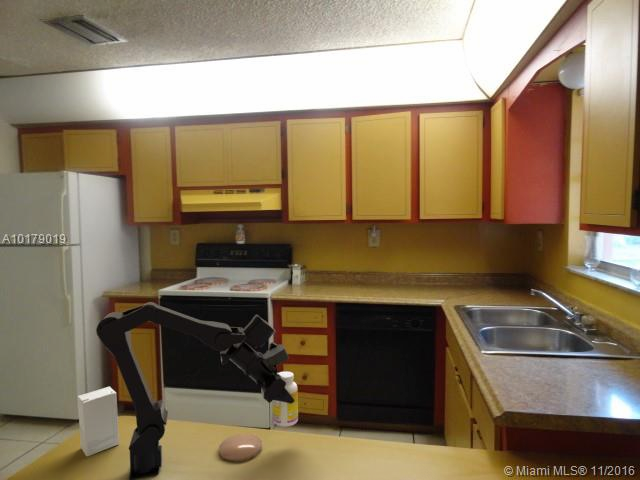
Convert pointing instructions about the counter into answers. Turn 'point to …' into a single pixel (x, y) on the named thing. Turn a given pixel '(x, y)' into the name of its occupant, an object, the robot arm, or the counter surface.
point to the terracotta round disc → (240, 447)
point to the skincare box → (98, 420)
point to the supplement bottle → (286, 404)
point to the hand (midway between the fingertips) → (290, 396)
